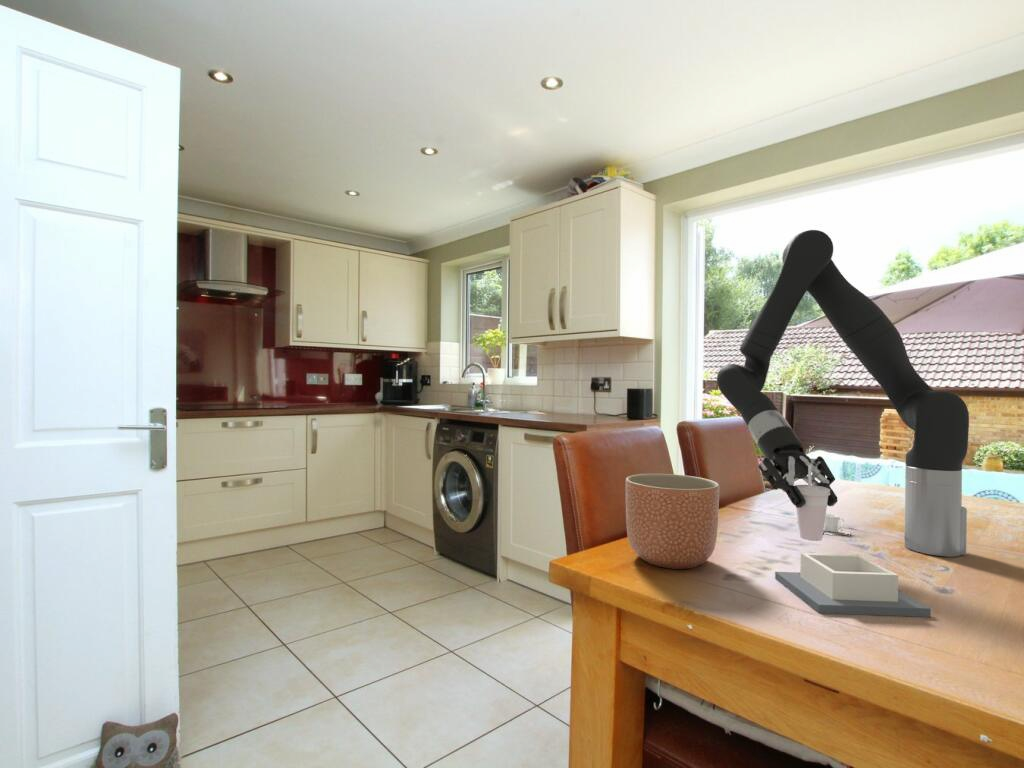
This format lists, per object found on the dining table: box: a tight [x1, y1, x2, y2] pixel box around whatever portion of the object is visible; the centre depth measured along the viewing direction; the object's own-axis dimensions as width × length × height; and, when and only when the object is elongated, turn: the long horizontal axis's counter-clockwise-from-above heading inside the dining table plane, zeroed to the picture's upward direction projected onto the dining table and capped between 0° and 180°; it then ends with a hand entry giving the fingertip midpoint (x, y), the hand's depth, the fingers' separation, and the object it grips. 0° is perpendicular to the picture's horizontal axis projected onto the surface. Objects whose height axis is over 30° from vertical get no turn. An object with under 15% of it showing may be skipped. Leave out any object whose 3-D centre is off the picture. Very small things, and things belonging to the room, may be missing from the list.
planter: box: [625, 473, 720, 570], centre depth 100 cm, size 17×17×15 cm
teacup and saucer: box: [823, 513, 851, 536], centre depth 124 cm, size 9×8×4 cm
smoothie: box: [793, 465, 830, 542], centre depth 101 cm, size 6×6×14 cm
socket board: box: [774, 552, 932, 618], centre depth 84 cm, size 16×14×5 cm
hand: (817, 504), depth 100 cm, fingers closed on smoothie, 6 cm apart
